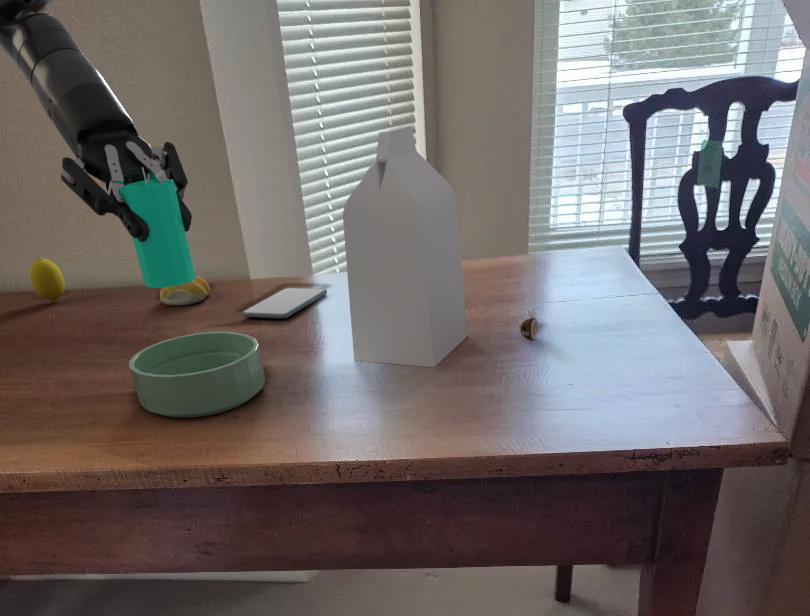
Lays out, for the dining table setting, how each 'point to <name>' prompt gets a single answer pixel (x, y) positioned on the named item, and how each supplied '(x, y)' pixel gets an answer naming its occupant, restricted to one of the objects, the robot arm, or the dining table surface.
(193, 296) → the bread roll
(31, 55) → the robot arm
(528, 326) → the chocolate
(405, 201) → the milk
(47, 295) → the lemon
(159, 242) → the candle
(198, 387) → the bowl
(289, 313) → the smartphone
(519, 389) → the dining table surface
